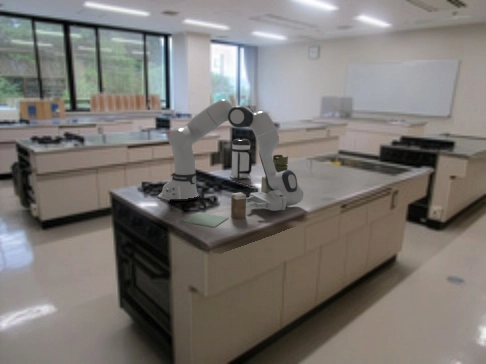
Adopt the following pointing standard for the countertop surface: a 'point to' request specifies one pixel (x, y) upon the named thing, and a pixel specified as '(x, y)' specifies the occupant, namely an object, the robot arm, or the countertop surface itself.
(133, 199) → the countertop surface
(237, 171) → the coffee press
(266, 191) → the skincare box
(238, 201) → the block
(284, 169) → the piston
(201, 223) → the mat
